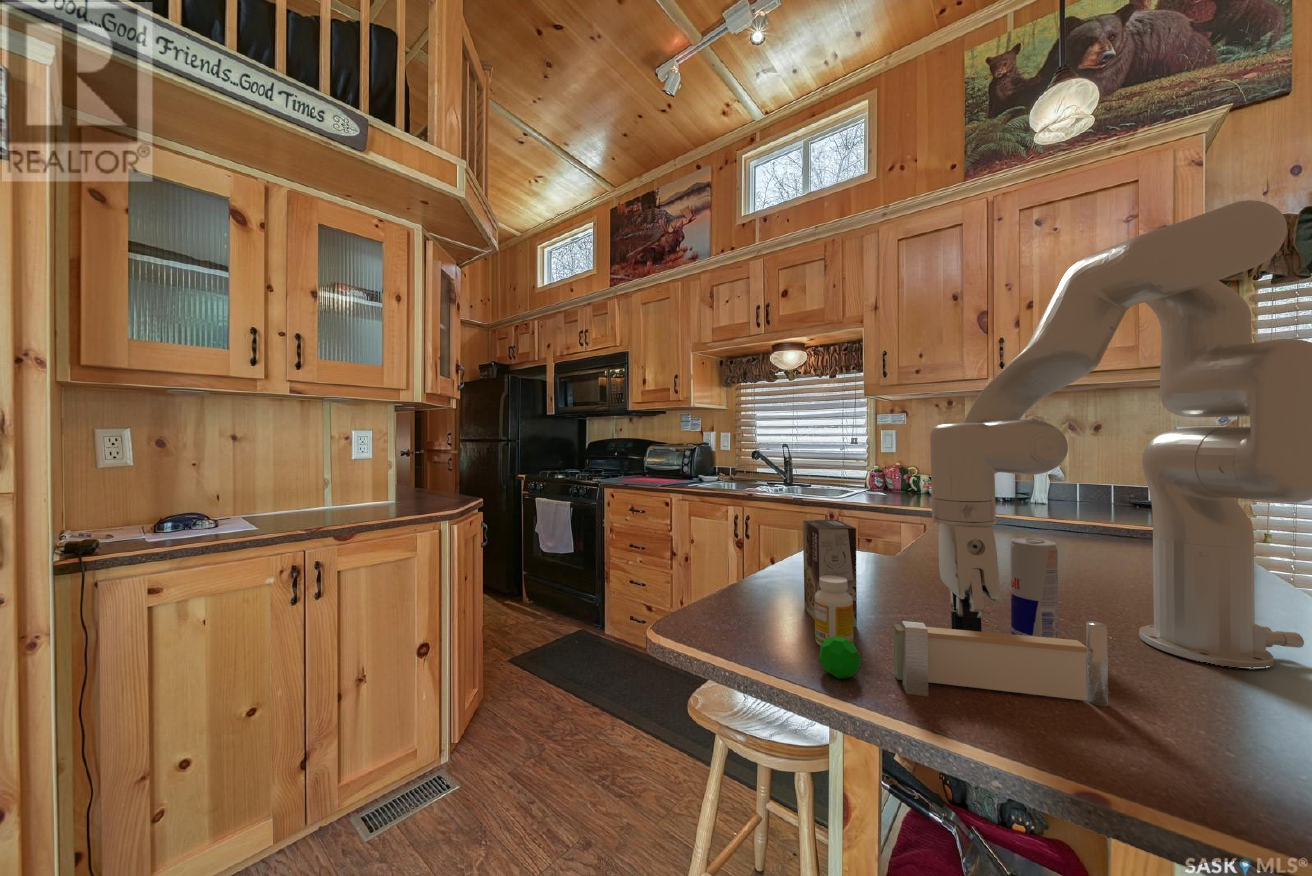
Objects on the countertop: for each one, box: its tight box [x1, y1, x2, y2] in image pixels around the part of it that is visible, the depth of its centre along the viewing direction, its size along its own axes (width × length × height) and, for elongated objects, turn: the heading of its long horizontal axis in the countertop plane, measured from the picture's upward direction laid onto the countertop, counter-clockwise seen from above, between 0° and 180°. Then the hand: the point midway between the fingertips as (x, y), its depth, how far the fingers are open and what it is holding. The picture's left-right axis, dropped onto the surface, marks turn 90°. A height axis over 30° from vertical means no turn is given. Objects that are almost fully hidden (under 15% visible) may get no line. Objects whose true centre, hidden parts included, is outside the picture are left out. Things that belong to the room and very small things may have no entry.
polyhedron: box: [818, 636, 861, 679], centre depth 63 cm, size 5×5×5 cm
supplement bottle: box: [814, 575, 854, 647], centre depth 72 cm, size 5×5×10 cm
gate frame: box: [901, 620, 1109, 707], centre depth 57 cm, size 22×2×9 cm, turn 81°
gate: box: [893, 623, 1088, 702], centre depth 59 cm, size 20×2×6 cm, turn 74°
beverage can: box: [1009, 537, 1059, 639], centre depth 73 cm, size 6×6×15 cm
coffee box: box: [802, 519, 858, 628], centre depth 83 cm, size 9×6×16 cm
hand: (966, 642), depth 67 cm, fingers closed
